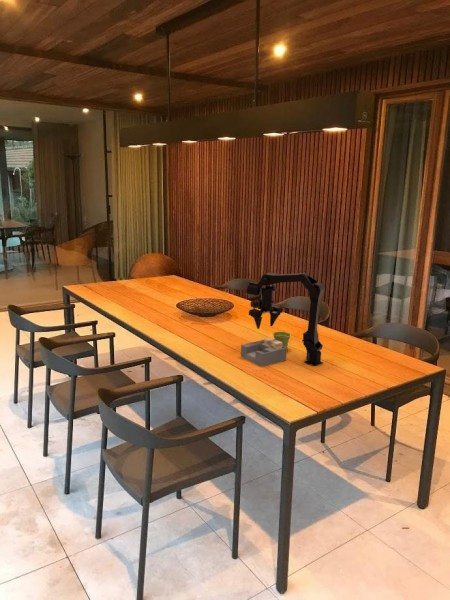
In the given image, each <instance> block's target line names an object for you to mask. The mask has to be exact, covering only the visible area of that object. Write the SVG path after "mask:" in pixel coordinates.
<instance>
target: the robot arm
mask: <svg viewBox="0 0 450 600" xmlns="http://www.w3.org/2000/svg"><path fill="white" fill-rule="evenodd" d="M297 282H298V283H301V284H302V285H303V286H304V288H305V289H306V290H307V291H308V298H309V300H310V303H309V307H310V308H309V314H308V322H307V323H308V324H307V330H305V332H303V333H302V341H301V342H303V343H302V344H303V346H304V348H305V350H306V357H305V358H306V359H305V360H304V363H306V364H308V365H312V366H318V365H322V364H323V363H324V362H323V361H321V359H322V351H321V350H322V349H323V347H324V346H323V344H322V343H321V342H320V339H319V338H320V337H319V332H318V323H319V313H320V306H321V304H320V303H321V300H322V298H323V296H324V293H325V285H324V284H323V283H321V282H320V281H318V280H317V279H315V278H313V276H311V275H310V274H308V273H307V272H301V273H286V274H285V273H282V274H280V273H276V272H267V273H265V274H262V276H261V278H260V280H259V281H258V282H254V281H250V282H249V283H248V285H247V288H246V294H247V296H253V297H260V296H261V297H260V298H259V300H258V301H256V300H251V301H250V308H251V309H249V310H248V316H250V317H251V318H253V320H254V322H255V323H254V324H255V326H256V329H257V330H260V327H261V325H262V324H261V323H262V319H263V317H262V316H263V314H269V316H270V317H269V318H270V319H269V326H270V327H273V326H274V324H275V322H276V321H277V319H279V316H280V315H281V314H283V310H284V309H283V307H281V306H279V305H273V304H274V303H275V300H273V299H274V298H273V297H274V292H275V291H277V290H278V287H276V285H275V284H279V283H297ZM271 285H272V286H271ZM321 363H322V364H321Z"/></svg>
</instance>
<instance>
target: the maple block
mask: <svg viewBox="0 0 450 600" xmlns="http://www.w3.org/2000/svg"><path fill="white" fill-rule="evenodd" d="M263 340H264V345H266V346H268V347H271V348H273V349H275V350H279V349H282V344H283V342H280V341H278V340H275V339H274V337H273V338H272V337H267V338H264V339H263Z"/></svg>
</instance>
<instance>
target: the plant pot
mask: <svg viewBox="0 0 450 600" xmlns="http://www.w3.org/2000/svg"><path fill="white" fill-rule="evenodd" d="M272 334H273V339H275V340H278V341H280V342H283V344H282V346H283V347H286V348H287V349H288V346H289V345H288V344H289V342H290V338H291V336H292V334H291V333H290V332H286V331H275V332H273V333H272Z"/></svg>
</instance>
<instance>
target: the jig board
mask: <svg viewBox="0 0 450 600" xmlns="http://www.w3.org/2000/svg"><path fill="white" fill-rule="evenodd" d="M264 340H265V339H261V340H257V341H256V340H255V341H251V342H248V343H244V344H243V343H242V344H241V346H240V347H241V348H240V358H242V359H244V360H247V361H248V362H250V363H253V364H255V365H257V366H259V367H261V368H263V367H266V366H271V365H273V364H278V363H281V362H284V361H287V351H288V347H287V348H286V347H283V346H282V349H279V350H275V349H273V348H271V347H268V346H266V345H264Z"/></svg>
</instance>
